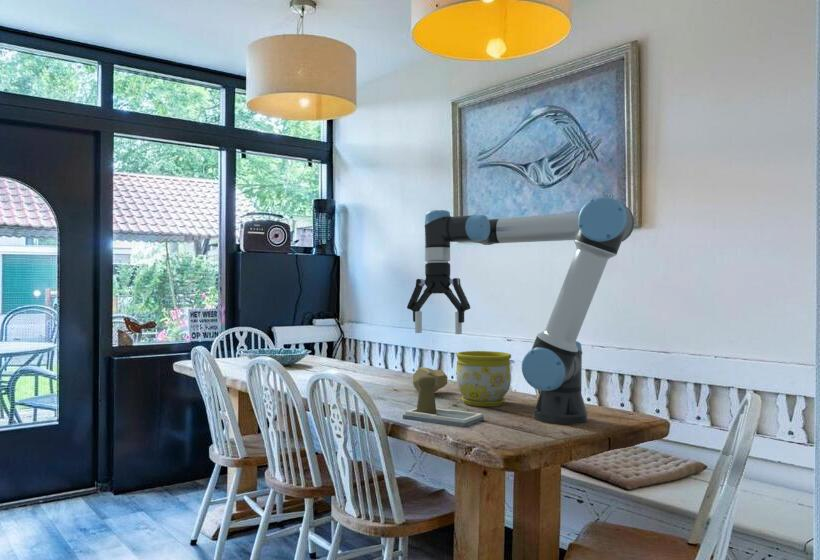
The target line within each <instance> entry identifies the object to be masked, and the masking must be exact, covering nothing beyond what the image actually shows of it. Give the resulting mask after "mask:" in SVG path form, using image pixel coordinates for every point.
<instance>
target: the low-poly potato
mask: <svg viewBox="0 0 820 560" xmlns="http://www.w3.org/2000/svg"><path fill="white" fill-rule="evenodd" d="M423 375H430V376H433V377H434V378H435V386H434V393H436V392H437V391H439V390H440V389H442V388H444V387H446V385H448V375H447V374H446V373H445V372H444V370H443V369H433V368H430V367H423V366H420V367H418V368H417V369H416V370H415V372H414V373H413V374H412V383H413V384H412V385H413V388H415V390H416V391H417V393H418V394H419V389H420V386H419V385H418V378H419V377H420V376H423Z"/></svg>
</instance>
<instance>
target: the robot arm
mask: <svg viewBox="0 0 820 560" xmlns="http://www.w3.org/2000/svg"><path fill="white" fill-rule="evenodd" d="M579 211H580V212H579V213H571V214H569V213H568V214H556V215H555V214H554V215H553V214H551V215H539V216H538V215H537V216H525V217H524V216H523V217H522V216H521V217H508V218H492V219H490V218H488V217H487V216H486V215H485V214H472V215H471V214H470V215H469V214H468V215H459V216H451V213H450V211H449V210H446V209H445V210H444V209H440V210H438V209H435V210H434V209H433V210H428V211H427V212H426V213H425V218H424V226H423V227H424V240H425V242H424V244H425V245H424V260H425V262H426V263H425V265H424V269H425V272H424V274H425V279H423V278H417V279H416V280H415V286H414V289H413V292H412V294H411V297H410V299H409V301H408V304H407V307H406V308H407V309H408V310H411V311H412V322H414V324H415V325H414V327H415V328H414V330H415V331H414V332H415V333H414V334H422V333H423V312H422V311H421V308H423V306H424V304H425V303H426V301H427V300H428V299H429V297H430V296H431V295H432V294H434V295H435V294H443V295H445V296H446V297H447V299H448V300H449V301H450V302H451V304H452V305H453V306H454V308H455V309H456V311H455V312H454V318H455V319H454V323H455V324H454V325H455V326H454V327H455V328H454V329H455V332H454V333H455V335H462V334H463V331H462V330H463V328H462V327H463V323H465V312H466V311H468V310H470V309H471V305H470V303H469V301H468V299H467V296H466V294H465V291H464V290H463V288H462V284H461V279H460V278H459V277H458V278H457V277H453V278H452V279H451V264H450V261H451V243H456V242H457V243H459V242H460V243H461V242H469V243H470V242H471V243H475V244H480V245H484V246H491V245H494V244H507V243H508V244H511V243H515V244H516V243H536V242H538V243H539V242H557V241H558V242H559V241H560V242H562V241H573V242H574V244H575V247H576V249H575V252H574V255H573V257H572V260H571V262H570V265H569V267H568V270H567V273H566V275H565V278H564V280H563V284H561V285H562V286H561V288H560V290H559V294H558V296H557V299H556V301H555V303H554V307H553V309H552V312H551V313H550V316H549V319H548V321H547V324H546V327H545V330H543V331H541V332H539V333H537V335H536V337H535V340H534V342H533V345H532V347H531V349H530V350H529V351H528V352H527V353H526V355H524V357H523V359H522V362H521V373H522V375H523V378H524V380H525V381H526V382H527V384H528V385H530V387H532V388H533V389H535V390H538V391H540V392H539V395H538V399H537V401H536V404H535V408H534V410H533V413H534V416H533V417H534V419H535V420H537V421H540V422H543V423H550V424H559V425H560V424H561V425H574V424H575V425H576V424H577V425H579V424H583V423H586V422H588V410H587V407H586V404H585V401H584V398H583V394H582V376H583V375H582V372H583V371H582V366H583V365H582V364H583V363H582V362H583V361H582V356H583V349H582V344H581V342H579V341H577V339H578V336H579V333H580V332H581V329H582V326H583V323H584V321H585V318H586V316H587V314H588V311H589V309H590V307H591V304H592V302H593V298H594V297H595V293H596V291H597V289H598V286H599V283H600V281H601V278H602V275H603V274H604V271H605V269H606V266H607V263H608V261H609V260H610V259H611V258H614V257H615V256H617V254H618V252H619V250H620V247H621V245H622V243H623V242H624V241H626V240H627V239H628V238H629V237H630V236H631V235H632V233H633V231H634V228H635V219H634V215H633V213H632V211H631V210H630V208H629V207H628V206H626V205H625V204H623V203H622V202H621V200H618V199H615V198H614V197H610V196H609V197H608V196H598V197H595V198H592V199H590V200H589V201H587V202H586V203H585V204H584V205H583V206H582V207H581V209H580V210H579ZM451 285H452V287H453V288H454V291H455V293H456V295H457V297H456V295H455V294H454V292H453V290H452V289H451V288H450V286H451ZM424 286H426V287H425V289H424ZM423 289H424V290H423ZM422 290H423V293H422ZM421 293H422V295H421ZM420 295H421V296H420Z"/></svg>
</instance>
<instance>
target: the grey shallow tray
mask: <svg viewBox="0 0 820 560" xmlns="http://www.w3.org/2000/svg"><path fill="white" fill-rule="evenodd" d="M416 411H417V407H416V408H413V409H408V410H405V413H404V414H402V419H407V420H413V421H420V422H427V423H433V424H441V425H447V426H448V425H449V426H454V427H461V428H465V427H467V426H470V425H473V424H475V423H479V422H481V421H484V415H483V413H480V412H472V411H464V410H456V409H455V410H454V409H443V408H437V407H436V414H428V413H420V412H416Z"/></svg>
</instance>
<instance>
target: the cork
mask: <svg viewBox="0 0 820 560" xmlns="http://www.w3.org/2000/svg"><path fill="white" fill-rule="evenodd" d="M418 385H419V386H420V389H419V393H418V397H417V398H418V399H417V404H416V408H417V411H416V412H420V413H428V414H436V408H437V407H436V406H437V405H436V399H435V392H434V386H435V378H434V377H433V376H430V375H423V376H420V377H419V378H418Z"/></svg>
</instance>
